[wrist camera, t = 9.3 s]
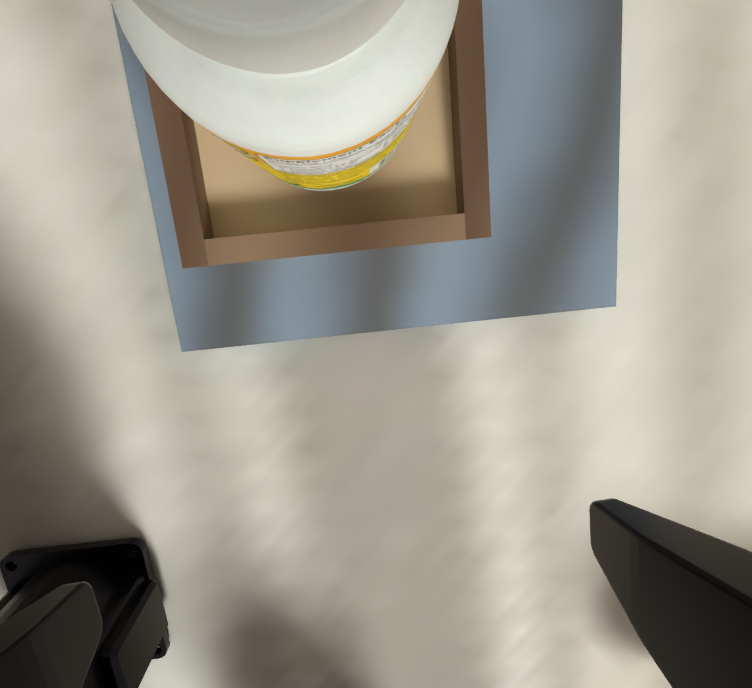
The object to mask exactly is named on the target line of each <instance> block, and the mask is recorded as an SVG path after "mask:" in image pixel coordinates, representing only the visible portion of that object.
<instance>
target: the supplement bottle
mask: <svg viewBox="0 0 752 688" xmlns="http://www.w3.org/2000/svg"><path fill="white" fill-rule="evenodd" d="M111 3H112V6H113V8H114V11H115V13H116V16H117V19H118V21H119V24H120V26H121V28H122V31H123V33H124V35H125V36H126V38H127V40H128V42H129V44H130V46H131V48H132V49H133V51H134V53H135V55H136V56H137V58H138V59H139V61H140V62H141V64H142V66H143V67H144V69H145V70H146V71H147V73H148V74H149V75H150V76H151V78H152V79H153V80H154V81H155V83H156V84H157V85H158V86H159V88H160V89H161V90H162V91H163V92H164V93H165V94H166V95H167V96H168V97H169V98H170V99H171V100H172V101H173V102H174V103H175V104H176V105H177V106H178V107H179V108H180V109H181V110H182V111H183V112H184V113H186V114H187V115H188V116H189V117H190V118H191V119H192V120H194V121H195V122H196V123H197V124H199V125H200V126H202V127H203V128H205V129H206V130H207V131H209V132H210V133H211V134H212V135H213V136H215V137H217V138H219V139H220V140H222V141H224V142H225V143H227V144H228V145H229V146H231V147H233V148H234V149H235V150H236V151H238V152H239V153H241V154H242V155H244V156H245V157H247V158H248V159H249V160H251V161H252V162H254V163H255V164H257V165H258V166H259V167H261V168H262V169H264V170H266V171H267V172H269V173H271V174H272V175H274V176H275V177H277V178H278V179H280V180H282V181H284V182H286V183H289V184H291V185H293V186H296V187H299V188H303V189H307V190H316V191H327V190H336V189H341V188H345V187H348V186H351V185H354V184H356V183H358V182H360V181H362V180H364V179H366V178H368V177H369V176H371V175H372V174H374V173H375V172H376V171H378V170H379V169H380V168H381V167H382V166H383V165H384V164H385V163H386V162H387V161H388V160H389V159H390V158H391V157H392V155H393V154H394V153H395V151H396V150H397V148H398V147H399V145H400V143H401V142H402V140H403V138H404V136H405V134H406V132H407V131H408V129H409V127H410V125H411V123H412V121H413V118H414V116H415V114H416V112H417V110H418V107H419V105H420V103H421V101H422V99H423V97H424V95H425V93H426V91H427V89H428V87H429V85H430V83H431V81H432V79H433V76H434V74H435V72H436V70H437V68H438V66H439V63H440V61H441V59H442V56H443V54H444V52H445V49H446V46H447V44H448V41H449V38H450V35H451V32H452V29H453V26H454V22H455V18H456V14H457V10H458V4H459V0H111Z"/></svg>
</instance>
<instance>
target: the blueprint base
mask: <svg viewBox="0 0 752 688" xmlns="http://www.w3.org/2000/svg"><path fill="white" fill-rule="evenodd" d="M112 8H113V6H112ZM113 13H114V18H115V23H116V28H117V33H118V38H119V42H120V47H121V52H122V57H123V62H124V67H125V72H126V77H127V82H128V87H129V92H130V97H131V102H132V107H133V112H134V117H135V122H136V127H137V132H138V137H139V142H140V147H141V152H142V157H143V162H144V167H145V172H146V176H147V181H148V186H149V191H150V196H151V201H152V206H153V211H154V216H155V221H156V226H157V231H158V236H159V241H160V246H161V251H162V256H163V261H164V266H165V271H166V276H167V281H168V286H169V291H170V296H171V301H172V306H173V310H174V315H175V320H176V325H177V330H178V335H179V340H180V345H181V350H182V352H185V351H195V350H204V349H214V348H223V347H233V346H242V345H252V344H261V343H271V342H280V341H290V340H299V339H309V338H318V337H328V336H337V335H347V334H356V333H366V332H375V331H385V330H394V329H404V328H414V327H423V326H433V325H442V324H452V323H461V322H471V321H480V320H490V319H499V318H509V317H518V316H528V315H537V314H547V313H556V312H566V311H575V310H585V309H594V308H604V307H613V306H616V279H617V232H618V185H619V138H620V91H621V44H622V0H459V4H458V10H457V14H456V18H455V22H454V26H453V29H452V32H451V35H450V38H449V41H448V44H447V46H446V49H445V52H444V54H443V56H442V59H441V61H440V63H439V66H438V68H437V70H436V72H435V74H434V76H433V79H432V81H431V83H430V85H429V87H428V89H427V91H426V93H425V95H424V97H423V99H422V101H421V103H420V105H419V107H418V110H417V112H416V114H415V116H414V118H413V121H412V123H411V125H410V127H409V129H408V131H407V132H406V134H405V136H404V138H403V140H402V142H401V143H400V145H399V147H398V148H397V150H396V151H395V153H394V154H393V155H392V157H391V158H390V159H389V160H388V161H387V162H386V163H385V164H384V165H383V166H382V167H381V168H380V169H379V170H378V171H376V172H375V173H374V174H372V175H371V176H369V177H368V178H366V179H364V180H362V181H360V182H358V183H356V184H354V185H351V186H348V187H345V188H341V189H336V190H327V191H316V190H307V189H303V188H299V187H296V186H293V185H291V184H289V183H286V182H284V181H282V180H280V179H278V178H277V177H275V176H274V175H272V174H271V173H269V172H267V171H266V170H264V169H262V168H261V167H259V166H258V165H257V164H255V163H254V162H252V161H251V160H249V159H248V158H247V157H245V156H244V155H242V154H241V153H239V152H238V151H236V150H235V149H234V148H233V147H231V146H229V145H228V144H227V143H225V142H224V141H222V140H220V139H219V138H217V137H215V136H213V135H212V134H211V133H210V132H209V131H207V130H206V129H205V128H203V127H202V126H200V125H199V124H197V123H196V122H195V121H194V120H192V119H191V118H190V117H189V116H188V115H187V114H186V113H184V112H183V111H182V110H181V109H180V108H179V107H178V106H177V105H176V104H175V103H174V102H173V101H172V100H171V99H170V98H169V97H168V96H167V95H166V94H165V93H164V92H163V91H162V90H161V89H160V88H159V86H158V85H157V84H156V83H155V81H154V80H153V79H152V78H151V76H150V75H149V74H148V73H147V71H146V70H145V69H144V67H143V66H142V64H141V62H140V61H139V59H138V58H137V56H136V55H135V53H134V51H133V49H132V48H131V46H130V44H129V42H128V40H127V38H126V36H125V35H124V33H123V31H122V28H121V26H120V24H119V21H118V19H117V16H116V13H115V11H114V8H113Z"/></svg>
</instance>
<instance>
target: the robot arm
mask: <svg viewBox="0 0 752 688" xmlns="http://www.w3.org/2000/svg"><path fill="white" fill-rule="evenodd" d="M590 535H591V546H592V550H593V552H594V555H595V557H596V559H597V561H598V563H599V564H600V566H601V568H602V570H603V572H604V574H605V576H606V577H607V579H608V581H609V583H610V585H611V587H612V589H613V590H614V592H615V594H616V596H617V598H618V600H619V602H620V603H621V605H622V607H623V609H624V611H625V613H626V615H627V616H628V618H629V620H630V622H631V624H632V626H633V627H634V629H635V631H636V633H637V634H638V636H639V638H640V639H641V641H642V643H643V644H644V646H645V647H646V649H647V650H648V652H649V653H650V655H651V656H652V658H653V659H654V661H655V662H656V664H657V665H658V667H659V668H660V670H661V671H662V673H663V674H664V676H665V677H666V679H667V680H668V682H669V683H670V685H671V686H672V688H752V552H751V551H748V550H746V549H743V548H740V547H738V546H735V545H733V544H730V543H728V542H725V541H722V540H720V539H717V538H715V537H712V536H710V535H707V534H704V533H702V532H699V531H697V530H694V529H692V528H689V527H686V526H684V525H681V524H679V523H676V522H674V521H671V520H668V519H666V518H663V517H661V516H658V515H656V514H653V513H651V512H648V511H645V510H643V509H640V508H638V507H635V506H633V505H630V504H627V503H625V502H622V501H620V500H617V499H605V500H599V501H594V502H592V504H591V505H590ZM130 548H134V549H135V550H136V551H137V552H134V551H132V550H131V549H130ZM13 562H14V563H16V565H15V564H14V563H13ZM0 568H1V571H2V574H3V577H4V580H5V583H6V586H7V589H8V593H7V594H6V595H5V596H4V597H3V598H2V599H1V600H0V688H138V687H139V685H140V683H141V681H142V679H143V676H144V674H145V672H146V670H147V668H148V666H149V664H150V662H151V660H152V659H158V658H161V657H163V656H164V655H165V654H166V652H167V650H168V648H169V646H170V641H169V637H168V633H167V629H166V628H167V626H168V622H167V618H166V614H165V609H164V605H163V601H162V597H161V593H160V589H159V585H158V583H157V581H156V580H155V579H154V576H153V572H152V568H151V564H150V559H149V555H148V551H147V547H146V544H145V542H143V541H142V540H141V539H138V538H127V539H118V540H109V541H101V542H92V543H83V544H74V545H65V546H56V547H47V548H38V549H29V550H20V551H13V552H10V553H9V554H8V555H7V556H6V557H5V558H4V559H2V560H1V562H0ZM158 646H159V647H158Z"/></svg>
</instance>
